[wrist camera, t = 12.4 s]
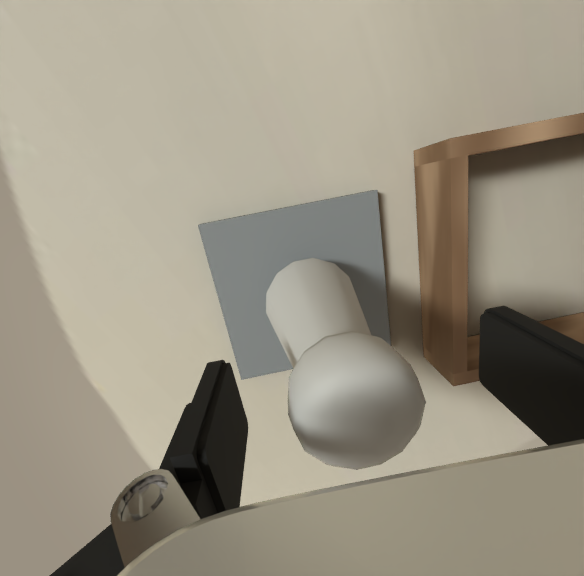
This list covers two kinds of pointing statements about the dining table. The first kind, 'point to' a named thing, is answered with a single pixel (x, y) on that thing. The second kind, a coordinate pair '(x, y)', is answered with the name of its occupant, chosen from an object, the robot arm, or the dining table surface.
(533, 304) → the dining table surface
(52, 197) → the dining table surface
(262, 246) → the mat
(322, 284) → the salt shaker
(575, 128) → the bin
